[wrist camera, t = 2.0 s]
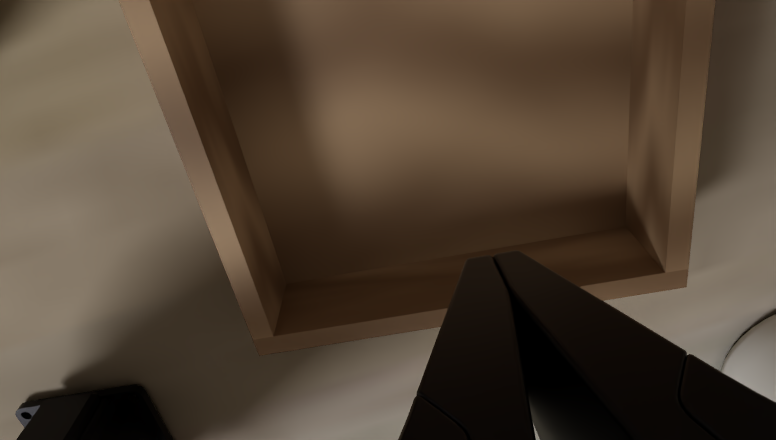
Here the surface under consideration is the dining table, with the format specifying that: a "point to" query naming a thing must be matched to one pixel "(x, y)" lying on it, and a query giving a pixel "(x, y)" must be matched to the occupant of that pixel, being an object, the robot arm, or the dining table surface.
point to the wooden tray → (429, 147)
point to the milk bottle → (755, 359)
